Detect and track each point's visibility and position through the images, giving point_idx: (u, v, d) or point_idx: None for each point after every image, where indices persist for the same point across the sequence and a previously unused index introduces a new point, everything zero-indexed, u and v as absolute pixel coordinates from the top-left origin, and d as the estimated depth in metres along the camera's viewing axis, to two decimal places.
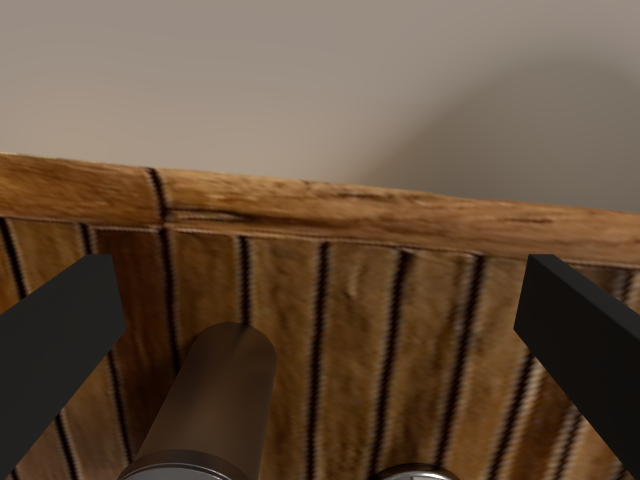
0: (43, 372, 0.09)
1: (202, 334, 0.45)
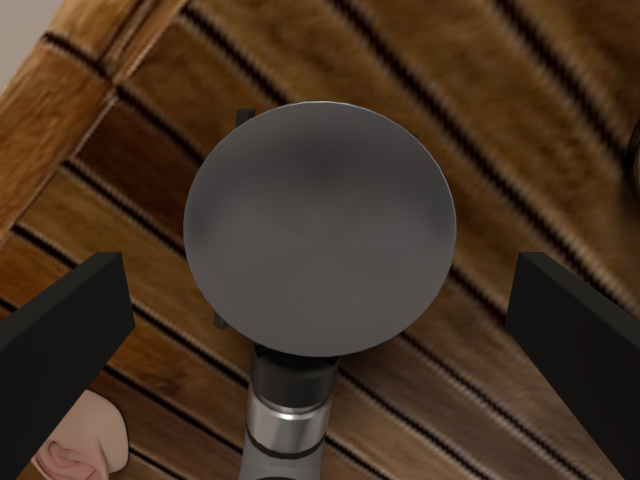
0: (57, 367, 0.09)
1: None
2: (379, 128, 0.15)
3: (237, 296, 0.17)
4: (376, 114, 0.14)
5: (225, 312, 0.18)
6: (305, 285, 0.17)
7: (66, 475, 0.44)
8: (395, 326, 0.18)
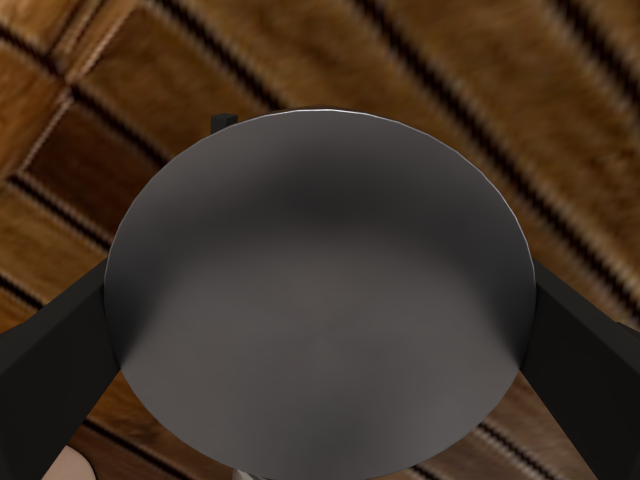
0: (89, 356, 0.10)
1: None
2: (420, 154, 0.09)
3: (193, 404, 0.11)
4: (415, 131, 0.09)
5: (176, 426, 0.12)
6: (297, 389, 0.11)
7: None
8: (433, 445, 0.12)
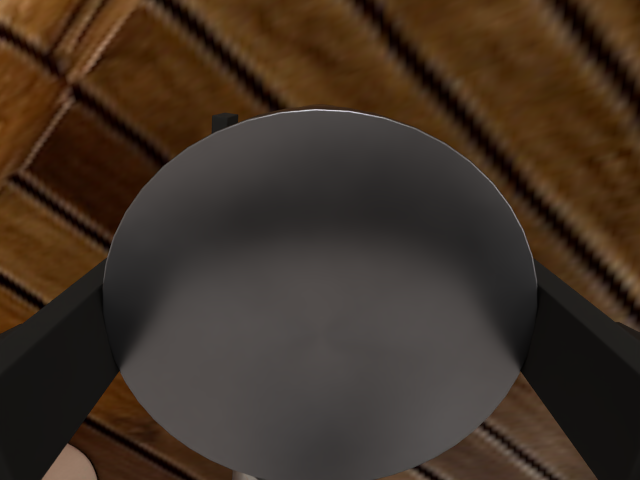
0: (89, 356, 0.10)
1: None
2: (132, 244, 0.09)
3: (392, 442, 0.12)
4: (111, 248, 0.09)
5: (416, 458, 0.12)
6: (387, 358, 0.11)
7: None
8: (498, 222, 0.09)
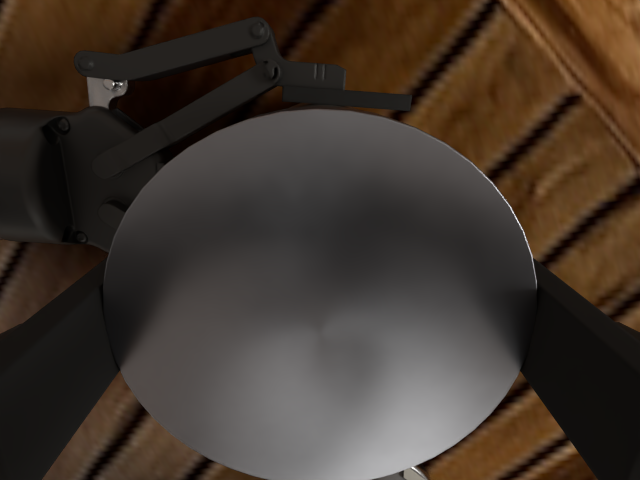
0: (89, 356, 0.10)
1: None
2: (132, 244, 0.09)
3: (392, 441, 0.12)
4: (112, 248, 0.10)
5: (416, 457, 0.12)
6: (387, 357, 0.11)
7: None
8: (498, 221, 0.09)
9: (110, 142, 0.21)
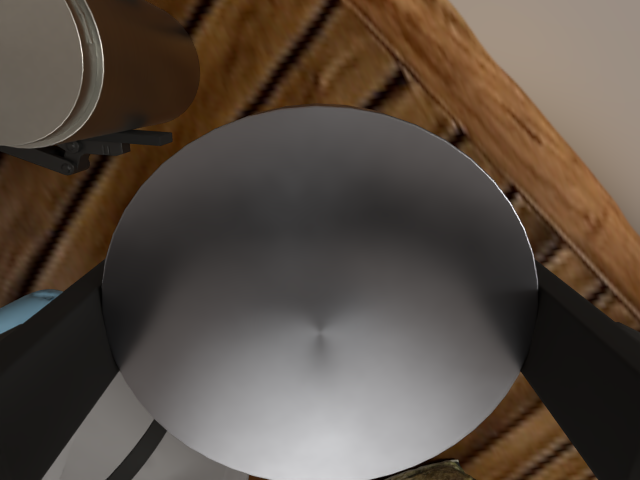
0: (89, 356, 0.10)
1: None
2: (131, 242, 0.09)
3: (392, 441, 0.12)
4: (111, 246, 0.09)
5: (416, 457, 0.12)
6: (388, 356, 0.11)
7: None
8: (499, 219, 0.09)
9: None
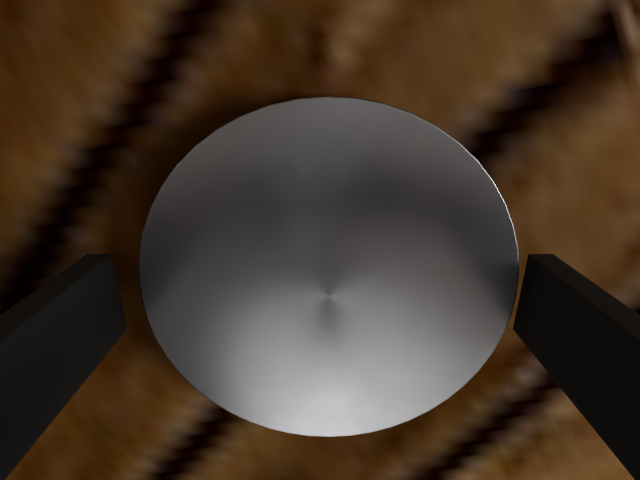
0: (43, 372, 0.09)
1: None
2: (166, 215, 0.11)
3: (391, 396, 0.13)
4: (148, 219, 0.11)
5: (412, 411, 0.13)
6: (387, 318, 0.12)
7: None
8: (483, 195, 0.11)
9: None
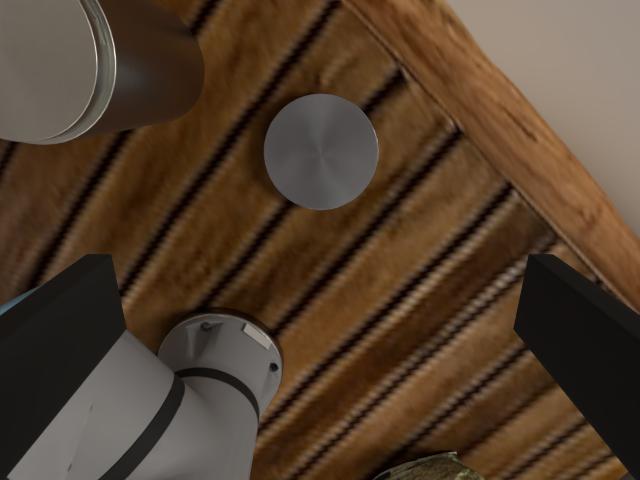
0: (43, 372, 0.09)
1: None
2: (274, 127, 0.38)
3: (342, 192, 0.40)
4: (268, 129, 0.38)
5: (349, 198, 0.40)
6: (339, 162, 0.39)
7: None
8: (364, 121, 0.38)
9: None
